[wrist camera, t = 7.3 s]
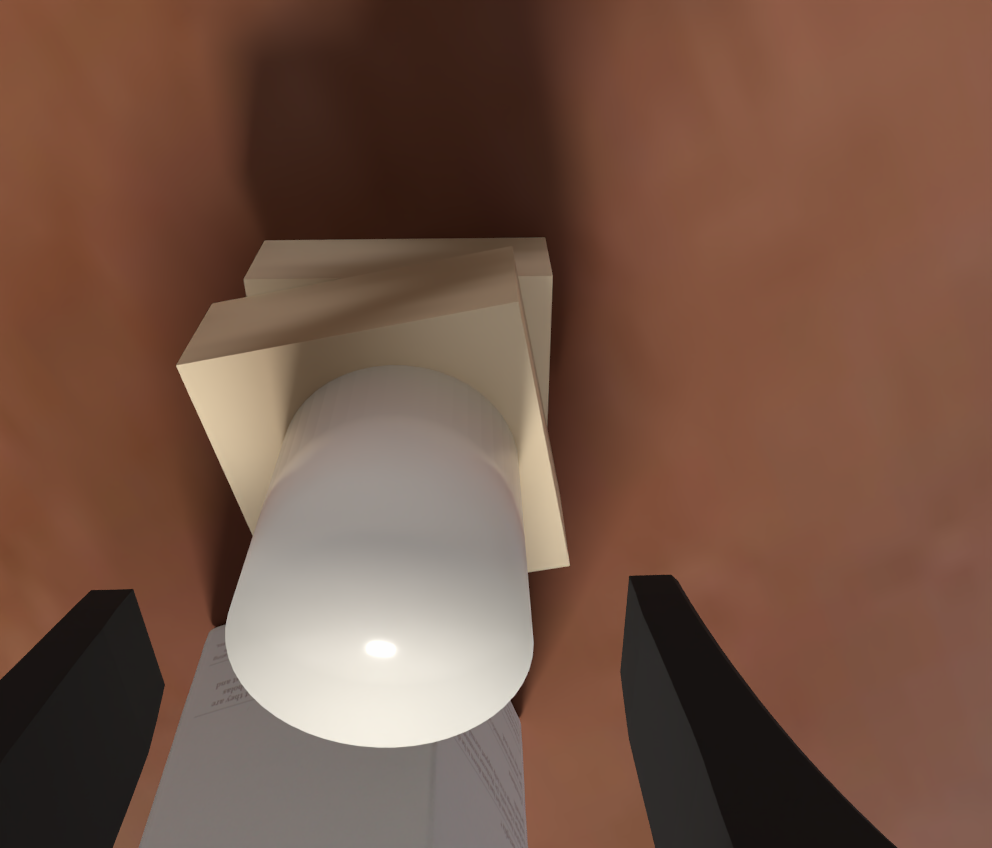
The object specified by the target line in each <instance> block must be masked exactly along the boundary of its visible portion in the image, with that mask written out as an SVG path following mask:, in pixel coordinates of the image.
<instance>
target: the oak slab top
mask: <svg viewBox="0 0 992 848" xmlns="http://www.w3.org/2000/svg"><path fill="white" fill-rule="evenodd" d="M385 365H407V366H415V367H422V368H427V369H431V370H435V371H439V372H441V373H444V374H447V375H449V376H452V377H454V378H456V379H458V380H460V381H462V382H464V383H466V384H468V385H469V386H471V387H472V388H474V389H475V390H477V391H478V392H480V393H481V394H482V395H483V396H484V397H485V398H486V399H488V400H489V401H490V402H491V403H492V404H493V405H494V406H495V408H496V409H497V410H498V411H499V412H500V413H501V415H502V416H503V418H504V420H505V421H506V423H507V424H508V426H509V428H510V430H511V433H512V435H513V437H514V440H515V444H516V448H517V453H518V462H519V474H520V486H521V498H522V510H523V522H524V534H525V546H526V558H527V570H528V572H535V571H541V570H547V569H553V568H559V567H566V566H570V562H569V555H568V548H567V541H566V534H565V527H564V520H563V513H562V506H561V498H560V491H559V486H558V481H557V476H556V471H555V465H554V460H553V455H552V450H551V445H550V439H549V434H548V429H547V424H546V419H545V413H544V408H543V403H542V398H541V393H540V387H539V382H538V377H537V372H536V367H535V362H534V356H533V351H532V346H531V341H530V336H529V330H528V325H527V320H526V315H525V310H524V304H523V299H522V294H521V289H520V284H519V278H518V273H517V268H516V263H515V258H514V252H513V247H512V246H509V247H504V248H499V249H493V250H488V251H483V252H478V253H473V254H467V255H462V256H457V257H452V258H447V259H441V260H436V261H431V262H426V263H421V264H415V265H410V266H405V267H400V268H395V269H389V270H384V271H379V272H374V273H369V274H363V275H358V276H353V277H348V278H343V279H337V280H332V281H327V282H322V283H317V284H311V285H306V286H301V287H296V288H291V289H285V290H280V291H275V292H270V293H265V294H259V295H254V296H249V297H244V298H239V299H233V300H228V301H223V302H218V303H213V304H212V305H211V306H210V308H209V310H208V311H207V313H206V315H205V317H204V318H203V320H202V322H201V323H200V325H199V327H198V329H197V330H196V332H195V334H194V335H193V337H192V339H191V341H190V342H189V344H188V346H187V347H186V349H185V351H184V353H183V354H182V356H181V358H180V359H179V361H178V363H177V365H176V367H177V369H178V371H179V373H180V376H181V378H182V380H183V382H184V384H185V387H186V389H187V391H188V393H189V396H190V398H191V400H192V402H193V404H194V407H195V409H196V411H197V413H198V415H199V418H200V420H201V422H202V424H203V427H204V429H205V431H206V433H207V435H208V438H209V440H210V442H211V444H212V447H213V449H214V451H215V453H216V455H217V458H218V460H219V462H220V464H221V466H222V469H223V471H224V473H225V475H226V478H227V480H228V482H229V484H230V486H231V489H232V491H233V493H234V495H235V498H236V500H237V502H238V504H239V506H240V509H241V511H242V513H243V515H244V517H245V520H246V522H247V524H248V526H249V529H250V531H251V533H252V535H253V534H254V531H255V528H256V525H257V522H258V518H259V515H260V512H261V509H262V506H263V503H264V500H265V497H266V494H267V490H268V487H269V484H270V481H271V478H272V475H273V472H274V469H275V466H276V462H277V459H278V456H279V453H280V450H281V447H282V444H283V441H284V438H285V435H286V432H287V429H288V427H289V424H290V422H291V420H292V419H293V417H294V415H295V413H296V412H297V410H298V409H299V408H300V407H301V405H302V404H303V403H304V402H305V400H307V399H308V398H309V397H310V396H311V395H312V394H313V393H314V392H315V391H317V390H318V389H319V388H321V387H322V386H324V385H325V384H327V383H328V382H330V381H332V380H334V379H336V378H338V377H340V376H342V375H345V374H348V373H351V372H353V371H356V370H360V369H365V368H369V367H375V366H385Z"/></svg>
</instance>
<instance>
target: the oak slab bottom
mask: <svg viewBox="0 0 992 848" xmlns="http://www.w3.org/2000/svg"><path fill="white" fill-rule="evenodd" d="M509 246H512V247H513V252H514V258H515V263H516V268H517V273H518V278H519V284H520V289H521V294H522V299H523V304H524V310H525V315H526V320H527V325H528V330H529V336H530V341H531V346H532V351H533V356H534V362H535V367H536V372H537V377H538V382H539V387H540V393H541V398H542V403H543V408H544V413H545V419H546V424H547V422H548V394H549V366H550V339H551V311H552V284H553V274H552V269H551V264H550V259H549V254H548V249H547V244H546V239H545V237H531V238H439V239H346V240H265V241H264V242H263V244H262V246H261V248H260V250H259V252H258V253H257V255H256V257H255V259H254V261H253V263H252V264H251V266H250V268H249V270H248V272H247V274H246V276H245V277H244V285H245V291H246V297H249V296H254V295H259V294H265V293H270V292H275V291H280V290H285V289H291V288H296V287H301V286H306V285H311V284H317V283H322V282H327V281H332V280H337V279H343V278H348V277H353V276H358V275H363V274H369V273H374V272H379V271H384V270H389V269H395V268H400V267H405V266H410V265H415V264H421V263H426V262H431V261H436V260H441V259H447V258H452V257H457V256H462V255H467V254H473V253H478V252H483V251H488V250H493V249H499V248H504V247H509Z"/></svg>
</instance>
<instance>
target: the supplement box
mask: <svg viewBox="0 0 992 848" xmlns="http://www.w3.org/2000/svg"><path fill="white" fill-rule="evenodd" d="M225 627H226V624H225V625H222V626H219V627H216V628H214V629H212V630H211V631H210V632H209V634H208V637H207V639H206V642H205V645H204V648H203V651H202V654H201V658H200V661H199V664H198V667H197V670H196V673H195V676H194V679H193V682H192V685H191V688H190V691H189V694H188V697H187V700H186V703H185V706H184V709H183V712H182V715H181V718H180V722H179V725H178V728H177V731H176V734H175V737H174V741H173V744H172V747H171V750H170V753H169V756H168V759H167V762H166V765H165V768H164V771H163V774H162V777H161V780H160V783H159V787H158V790H157V793H156V796H155V799H154V802H153V805H152V808H151V811H150V814H149V817H148V820H147V823H146V827H145V830H144V833H143V836H142V839H141V842H140V845H139V848H528V844H527V828H526V812H525V793H524V772H523V751H522V735H521V723H520V719H519V717H518V715H517V713H516V711H515V709H514V707H513V705H512V703H511V700H510V701H509V702H508V703H507V704H506V705H505V706H504V707H503V708H502V709H501V710H500V711H498V712H497V713H496V714H495V715H494V716H492V717H491V718H489V719H488V720H486V721H485V722H483V723H481V724H480V725H478V726H476V727H474V728H472V729H470V730H468V731H466V732H464V733H461V734H458V735H456V736H453V737H450V738H448V739H444V740H440V741H436V742H433V743H428V744H422V745H416V746H407V747H396V748H377V747H364V746H356V745H349V744H343V743H339V742H335V741H331V740H327V739H323V738H320V737H317V736H315V735H312V734H309V733H306V732H304V731H302V730H300V729H297V728H295V727H293V726H291V725H289V724H287V723H286V722H284V721H282V720H281V719H279V718H277V717H276V716H274V715H273V714H272V713H270V712H269V711H268V710H266V709H265V708H264V707H262V706H261V705H260V704H259V703H258V702H257V701H256V700H255V699H254V698H253V697H252V696H251V695H250V694H249V693H248V691H247V690H246V689H245V688H244V687H243V685H242V684H241V683H240V681H239V679H238V677H237V676H236V674H235V672H234V671H233V668H232V666H231V663H230V660H229V658H228V654H227V649H226V644H225Z"/></svg>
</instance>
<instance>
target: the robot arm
mask: <svg viewBox="0 0 992 848" xmlns="http://www.w3.org/2000/svg"><path fill="white" fill-rule="evenodd" d="M620 673H621V681H622V689H623V697H624V705H625V713H626V720H627V727H628V735H629V741H630V745H631V749H632V754H633V758H634V762H635V766H636V770H637V774H638V779H639V783H640V787H641V791H642V795H643V799H644V803H645V807H646V812H647V816H648V820H649V824H650V828H651V832H652V836H653V840H654V844H655V848H897V847H896V846H895V845H894V844H893V843H891V842H890V841H889V840H888V839H887V838H886V837H885V836H884V835H883V834H882V833H881V832H880V831H879V830H877V829H876V828H875V827H874V826H873V825H872V824H871V823H870V822H869V821H868V820H867V819H866V818H865V817H864V816H863V815H862V814H861V813H860V812H859V811H858V810H857V809H856V808H855V807H854V806H853V805H852V804H851V803H850V802H849V801H848V800H847V799H846V798H845V797H844V796H843V795H842V794H841V793H840V792H839V791H838V790H837V789H836V788H835V787H834V786H833V784H832V783H831V782H830V781H829V780H828V779H827V778H826V777H825V776H824V775H823V774H822V773H821V772H820V771H819V770H818V769H817V767H816V766H815V765H814V764H813V763H812V762H811V761H810V760H809V759H808V758H807V756H806V755H805V754H804V753H803V752H802V751H801V750H800V748H799V747H798V746H797V745H796V744H795V743H794V742H793V740H792V739H791V738H790V737H789V736H788V734H787V733H786V732H785V731H784V730H783V728H782V727H781V726H780V725H779V724H778V722H777V721H776V720H775V719H774V718H773V717H772V715H771V714H770V713H769V712H768V710H767V709H766V708H765V706H764V705H763V704H762V703H761V701H760V700H759V699H758V698H757V696H756V695H755V694H754V692H753V691H752V690H751V688H750V687H749V686H748V684H747V683H746V682H745V680H744V679H743V678H742V676H741V675H740V674H739V672H738V671H737V670H736V668H735V667H734V666H733V664H732V663H731V662H730V660H729V659H728V658H727V656H726V655H725V653H724V652H723V651H722V649H721V648H720V646H719V645H718V643H717V642H716V640H715V639H714V637H713V636H712V634H711V633H710V632H709V630H708V629H707V627H706V626H705V624H704V623H703V621H702V620H701V618H700V616H699V615H698V613H697V612H696V610H695V609H694V607H693V605H692V604H691V602H690V601H689V599H688V597H687V596H686V594H685V592H684V591H683V589H682V587H681V586H680V584H679V582H678V581H677V580H676V579H675V578H674V577H673V576H672V575H644V576H629V585H628V595H627V606H626V617H625V628H624V639H623V650H622V661H621V672H620ZM164 686H165V684H164V681H163V678H162V675H161V672H160V669H159V666H158V663H157V660H156V657H155V654H154V651H153V648H152V645H151V642H150V639H149V636H148V633H147V630H146V627H145V624H144V621H143V618H142V615H141V612H140V609H139V606H138V602H137V599H136V596H135V593H134V590H133V589H123V590H91V591H90V592H89V593H88V594H87V595H86V596H85V597H84V598H83V599H82V600H81V601H80V602H78V603H77V604H76V605H75V606H74V607H73V608H72V609H71V610H70V611H69V612H68V613H67V614H66V615H65V616H64V617H63V618H62V619H61V620H60V621H59V622H58V623H57V624H56V625H55V626H54V627H53V628H52V629H51V630H50V631H49V632H48V633H47V634H46V635H45V636H44V637H43V638H42V639H41V640H40V641H39V642H38V643H37V644H36V645H35V646H34V647H33V648H32V649H31V650H30V651H29V652H28V653H27V654H26V655H25V656H24V657H23V658H22V659H21V660H20V661H19V662H18V663H17V664H16V665H15V666H14V667H13V668H12V669H11V670H10V671H9V672H8V673H7V674H6V675H5V676H4V677H3V678H2V679H1V680H0V848H113V845H114V843H115V840H116V837H117V835H118V832H119V830H120V827H121V824H122V822H123V819H124V817H125V814H126V812H127V809H128V806H129V804H130V801H131V798H132V796H133V793H134V790H135V788H136V785H137V782H138V780H139V777H140V774H141V772H142V769H143V766H144V764H145V761H146V758H147V755H148V753H149V749H150V745H151V741H152V737H153V733H154V729H155V725H156V721H157V717H158V713H159V708H160V704H161V699H162V695H163V691H164Z"/></svg>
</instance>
